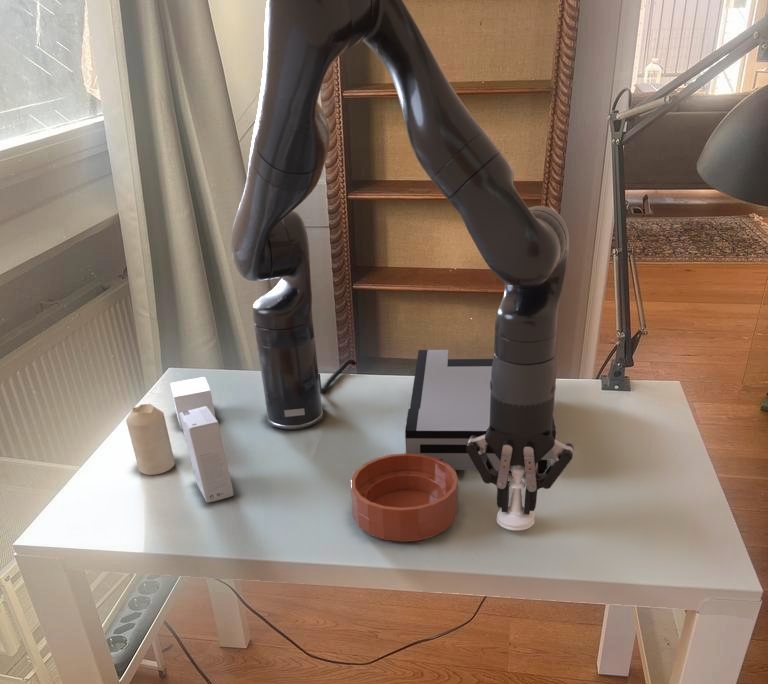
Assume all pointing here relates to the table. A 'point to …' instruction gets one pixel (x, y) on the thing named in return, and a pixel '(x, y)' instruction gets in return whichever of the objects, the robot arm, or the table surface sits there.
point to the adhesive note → (191, 396)
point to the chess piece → (516, 504)
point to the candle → (150, 439)
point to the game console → (452, 409)
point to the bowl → (405, 497)
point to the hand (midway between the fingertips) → (515, 509)
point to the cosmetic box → (207, 453)
